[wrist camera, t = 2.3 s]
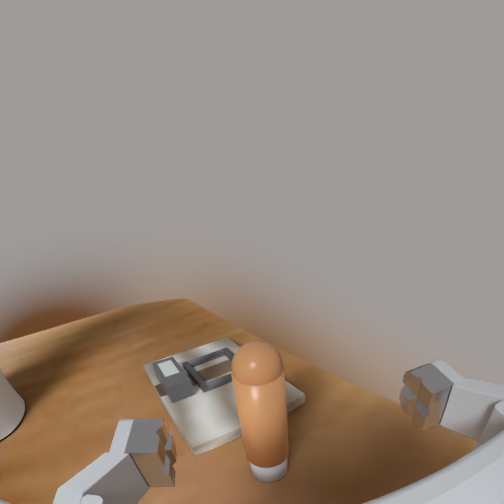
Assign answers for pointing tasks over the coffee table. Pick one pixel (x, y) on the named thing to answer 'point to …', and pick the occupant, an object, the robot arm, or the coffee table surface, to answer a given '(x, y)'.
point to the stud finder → (173, 379)
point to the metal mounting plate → (209, 396)
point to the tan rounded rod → (262, 408)
